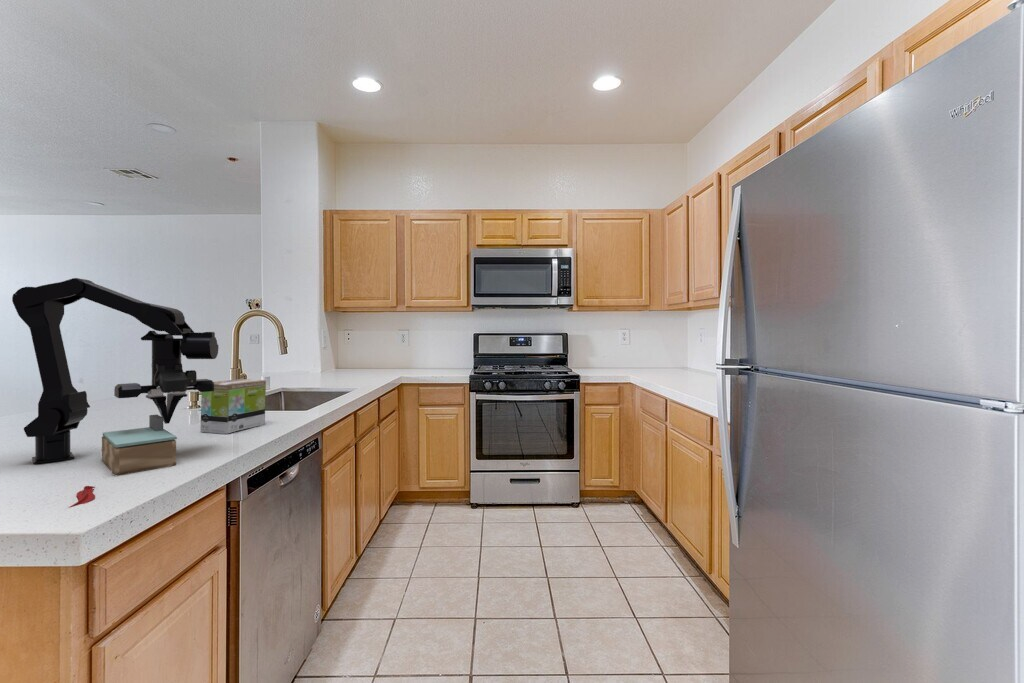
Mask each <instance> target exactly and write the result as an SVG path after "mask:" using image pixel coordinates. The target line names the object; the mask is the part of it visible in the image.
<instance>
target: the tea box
mask: <svg viewBox="0 0 1024 683" xmlns="http://www.w3.org/2000/svg"><path fill="white" fill-rule="evenodd" d="M213 382H214V391H209V392H201V398H200V399H201V401H200V403H201V404H200V426H199V427H200V428H199V430H200V433H208V434H209V433H210V434H221V435H222V434H225V435H228V434H231V433H234V432H237V431H242V430H247V429H251V428H256V427H260V425H261V426H264V425H266V424H265V423H266V397H267V395H266V390H267V381H266V379H253V378H251V379H249V378H246V379H245V378H239V379H238V378H237V379H229V380H219V381H213Z"/></svg>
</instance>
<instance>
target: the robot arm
mask: <svg viewBox="0 0 1024 683" xmlns="http://www.w3.org/2000/svg"><path fill="white" fill-rule="evenodd" d="M82 299H86V300H88V301H91V302H94V303H96V304H100V305H101V306H104V307H107V308H110V309H113V310H116V311H119V312H122V313H124V314H125V315H126V314H127V315H128V316H131V317H133V318H134V319H136V320H138V322H140V323H142V324H143V325H145V326H147V327H149V328H150V329H152V330H148V332H147V333H146V334H145V335H143V336H141V337H140V340H141V341H151V385H150V384H149V385H148V384H147V385H141V384H140V383H138V382H133V383H132V382H130V383H118V384H116V385H115V386H114V389H113V391H114V397H116V398H118V399H129V398H138V397H139V396H140V395H141V394H146V395H145V398H147V399H148V400H151V401H153V403H154V405H155V406H156V408H157V410H158V412H159V414H160V416H161V417H163V424H166V425H168V424H170V423H171V420H172V418H173V415H174V412H175V410H176V408H177V405H178V404H179V402H181V400H182V398H187V397H188V394H187V393H186V392H187V391H198V392H199V393H202V392H209V391H214V382H215V381H213V380H211V379H208V378H200V379H199V378H197V371H196V370H193V369H191V370H185V371H184V370H183V363H182V356H184V357H185V358H186V359H187V360H216V358H218V353H219V344H218V341H217V338H216V336H215V334H216V333H215V331H204V332H195V331H194V330H193V329H192V327H190V325H189V324H188V323H187V322H186V320H185V315H184V312H182V311H181V310H179V309H178V308H174V307H169V306H165V305H160V304H154V303H149V302H145V301H142V300H140V299H137V298H135V297H132V296H130V295H126V294H123V293H121V292H118V291H116V290H113V289H110V288H108V287H106V286H102V285H101V284H100V285H99V284H97V283H94V281H91V280H89V279H83V278H79V277H73V278H70V279H66V280H63V281H59V282H54V283H49V284H43V285H37V286H24V287H21V288H19V289H17V291H16V292H14V293H13V294H12V299H11V301H12V304H13V306H14V309H15V311H16V313H17V315H18V316H19V318H20V319H21V320H22V321H23V323H24V324H26V326H27V327H28V328H29V332H30V335H31V340H32V343H33V344H32V345H33V349H34V353H35V358H36V363H37V367H38V372H39V376H40V381H41V384H42V386H41V387H42V393H41V395H40V397H39V400H38V402H37V417H35V419H33V420H32V421H30V422H29V423H28V424H27V425H25V427H23V431H24V434H25V435H26V437H27V438H34V442H35V446H34V447H35V448H34V449H35V450H34V452H35V455H34V456H32V457H31V461H32V463H33V465H38V464H45V463H52V462H59V461H65V460H66V461H67V460H72V459H75V455H74V453H73V452H72V451H71V430H77V429H78V427H79V425H80V423H81V421H82V420H84V418H85V417H86V416H87V415H88V409H89V408H91V405H90V404H89V402H88V395H87V394H88V393H87V391H85V390H84V391H78V390H77V389H76V387H74V386H73V383H72V377H71V373H70V368H69V364H68V359H67V356H66V355H67V354H66V351H65V346H64V341H63V336H62V330H61V322H62V321H63V318H64V315H65V306H67V305H71V304H74V303H76V302H78V301H80V300H82ZM158 332H165V333H158ZM174 336H181V337H182V338H179V337H178V338H177V337H174ZM164 394H166V395H164Z"/></svg>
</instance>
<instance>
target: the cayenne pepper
mask: <svg viewBox="0 0 1024 683" xmlns="http://www.w3.org/2000/svg"><path fill="white" fill-rule="evenodd" d="M95 488H96V486H94V485H93V486H92V485H91V486H90V485H85V486H83V489H82V490H80V491H78V492H77V493H76V498H77V500H78V501H77V502H75V503H74V504H72V505H71V506H69V507H68V509H71V508H72V507H73V508H74V507H76V506H80V505H85V504H88V503H90V502H92V501H95V499H96V494H95V493H93V492H94V490H95Z"/></svg>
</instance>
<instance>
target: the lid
mask: <svg viewBox="0 0 1024 683" xmlns="http://www.w3.org/2000/svg"><path fill="white" fill-rule="evenodd" d="M148 417H149V426H148V427H140V428H130V429H122V430H113V431H105V432H102V437H103V436H104V437H105V438H106V439H107V440H108V441H109V442H110V443H111V444H112V445H113V446H114V447H115V448H117V447H124V446H132V445H139V444H146V443H153V442H160V441H168V440H178V436H176V435H175V434H173V433H171V432H170V431H169V430H166V429H164V421H163V417H161V415H159V414H150V415H149V416H148Z"/></svg>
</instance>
